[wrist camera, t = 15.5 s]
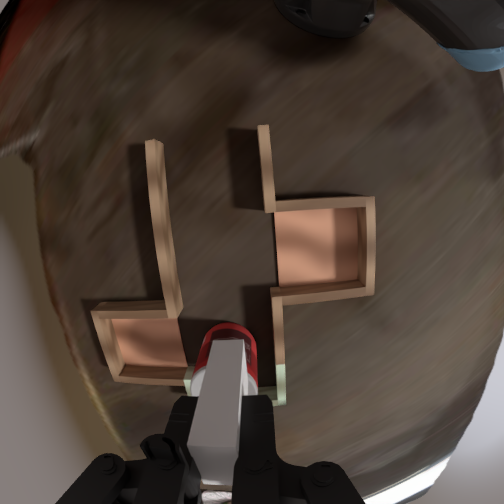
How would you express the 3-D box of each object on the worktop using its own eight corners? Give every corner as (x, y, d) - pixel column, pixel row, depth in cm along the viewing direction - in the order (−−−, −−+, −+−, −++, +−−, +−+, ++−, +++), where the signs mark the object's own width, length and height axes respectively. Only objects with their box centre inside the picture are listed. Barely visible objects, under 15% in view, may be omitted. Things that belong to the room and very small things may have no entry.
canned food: (219, 372, 40) (211, 423, 29) (193, 331, 38) (175, 377, 28) (265, 356, 39) (269, 406, 28) (241, 312, 38) (238, 357, 27)
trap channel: (80, 162, 33) (66, 161, 29) (357, 129, 32) (368, 124, 29) (130, 390, 41) (123, 403, 38) (355, 379, 40) (361, 392, 37)
